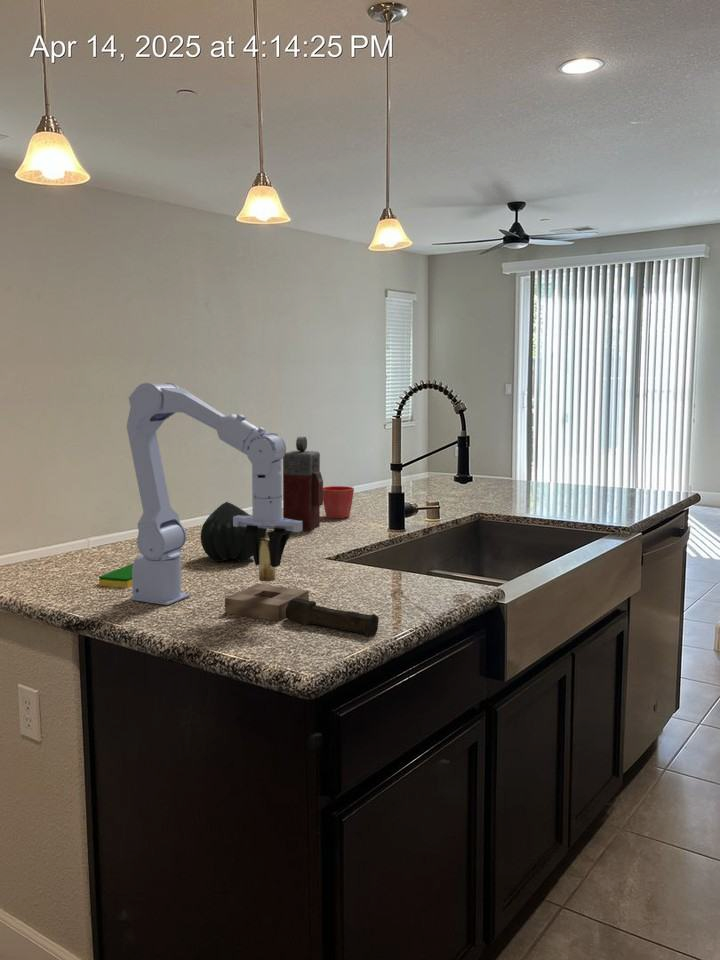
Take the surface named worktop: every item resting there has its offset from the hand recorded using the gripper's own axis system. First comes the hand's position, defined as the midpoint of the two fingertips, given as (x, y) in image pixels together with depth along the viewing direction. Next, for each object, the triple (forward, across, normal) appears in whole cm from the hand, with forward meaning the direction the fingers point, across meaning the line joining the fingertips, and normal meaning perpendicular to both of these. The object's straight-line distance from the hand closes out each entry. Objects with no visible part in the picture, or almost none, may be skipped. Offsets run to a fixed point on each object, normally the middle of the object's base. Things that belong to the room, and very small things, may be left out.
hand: (267, 565), depth 156 cm
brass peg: (+3, 0, 0) cm, 3 cm away
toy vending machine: (+9, -34, +80) cm, 87 cm away
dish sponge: (+10, -40, +7) cm, 42 cm away
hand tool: (+9, +16, -6) cm, 19 cm away
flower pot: (+9, -34, +103) cm, 109 cm away
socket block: (+9, 0, 0) cm, 9 cm away
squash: (+9, -31, +34) cm, 47 cm away
